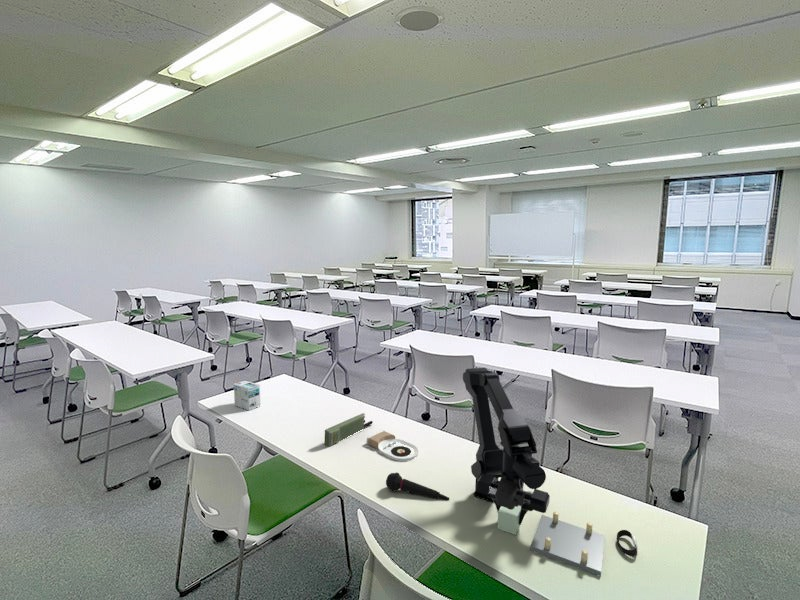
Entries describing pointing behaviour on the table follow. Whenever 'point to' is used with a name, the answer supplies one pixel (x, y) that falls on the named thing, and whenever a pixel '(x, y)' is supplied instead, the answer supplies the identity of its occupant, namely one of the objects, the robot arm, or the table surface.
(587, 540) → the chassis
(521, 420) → the robot arm
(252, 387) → the light bulb box
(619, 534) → the watch
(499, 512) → the board block
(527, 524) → the table surface
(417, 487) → the microphone
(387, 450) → the record player
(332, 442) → the handheld radio
